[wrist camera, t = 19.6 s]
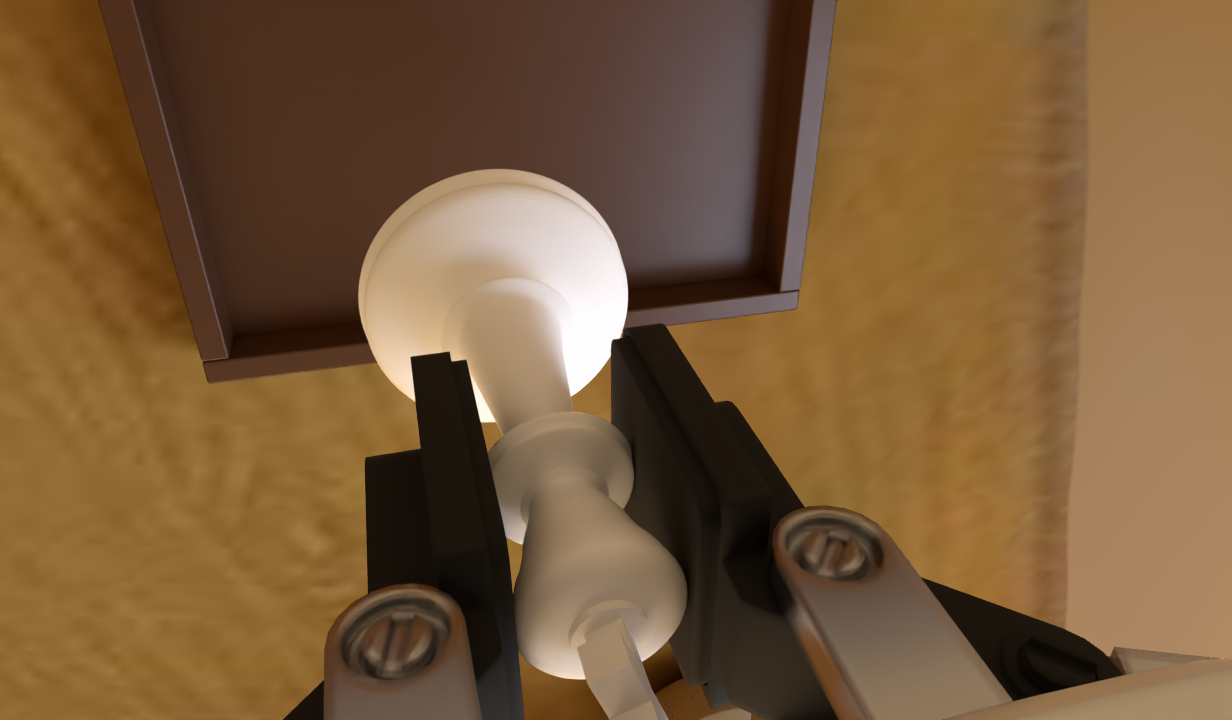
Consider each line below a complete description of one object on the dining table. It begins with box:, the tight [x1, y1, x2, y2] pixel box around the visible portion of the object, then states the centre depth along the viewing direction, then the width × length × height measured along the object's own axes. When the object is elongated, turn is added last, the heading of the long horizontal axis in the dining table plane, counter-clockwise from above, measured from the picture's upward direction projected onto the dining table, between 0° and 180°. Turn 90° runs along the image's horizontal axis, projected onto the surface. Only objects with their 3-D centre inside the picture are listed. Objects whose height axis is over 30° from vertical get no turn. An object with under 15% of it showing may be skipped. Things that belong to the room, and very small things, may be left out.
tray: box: [98, 0, 837, 384], centre depth 26 cm, size 14×20×2 cm
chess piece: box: [358, 169, 688, 720], centre depth 12 cm, size 5×5×10 cm
